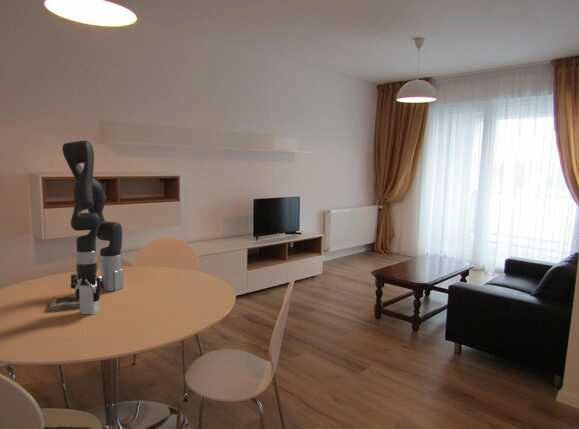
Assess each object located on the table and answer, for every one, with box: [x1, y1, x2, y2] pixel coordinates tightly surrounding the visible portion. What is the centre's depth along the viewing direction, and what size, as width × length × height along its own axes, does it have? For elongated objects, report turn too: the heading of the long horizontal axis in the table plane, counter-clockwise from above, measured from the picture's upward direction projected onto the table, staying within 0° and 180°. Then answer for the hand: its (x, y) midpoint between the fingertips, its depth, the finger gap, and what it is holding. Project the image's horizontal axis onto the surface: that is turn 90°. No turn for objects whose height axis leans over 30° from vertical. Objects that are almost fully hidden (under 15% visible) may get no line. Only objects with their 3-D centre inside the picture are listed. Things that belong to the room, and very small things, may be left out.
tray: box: [48, 294, 80, 313], centre depth 176 cm, size 13×13×2 cm
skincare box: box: [79, 284, 100, 315], centre depth 168 cm, size 6×4×12 cm
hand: (87, 299), depth 168 cm, fingers open, 8 cm apart
